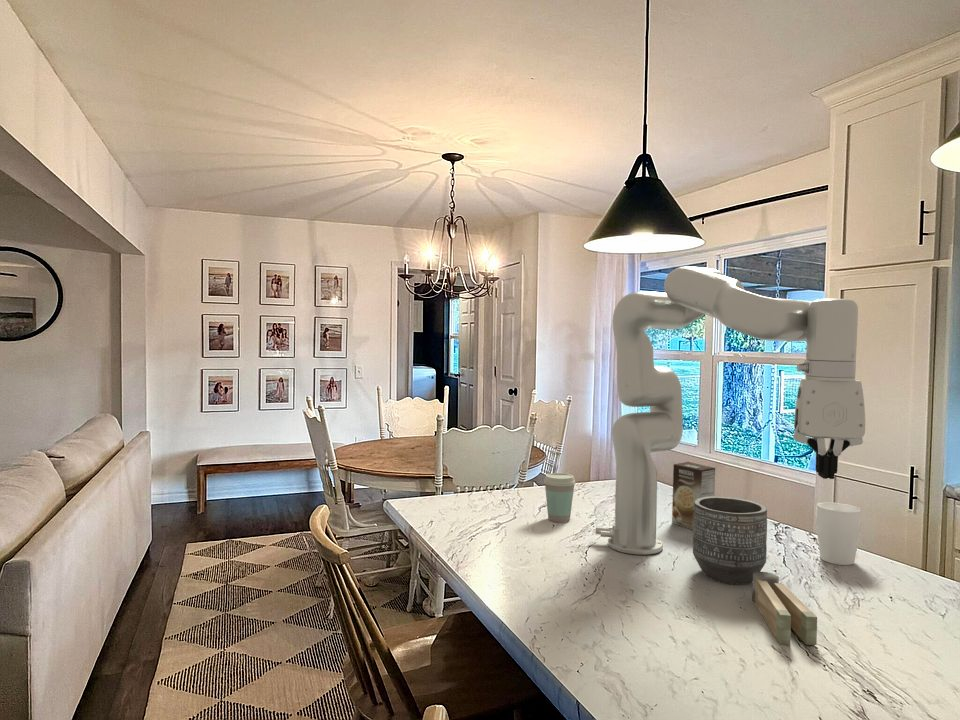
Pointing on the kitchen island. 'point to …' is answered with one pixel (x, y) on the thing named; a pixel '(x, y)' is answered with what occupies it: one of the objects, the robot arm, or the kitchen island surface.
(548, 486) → the coffee cup
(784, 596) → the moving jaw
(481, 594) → the kitchen island surface
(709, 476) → the coffee box
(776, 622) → the tongs base
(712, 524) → the planter
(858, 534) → the cup
